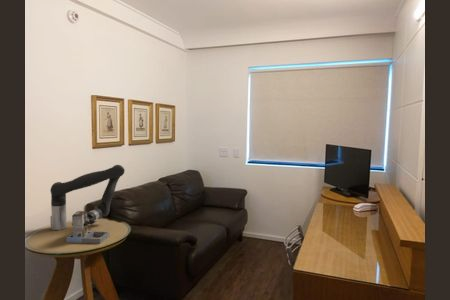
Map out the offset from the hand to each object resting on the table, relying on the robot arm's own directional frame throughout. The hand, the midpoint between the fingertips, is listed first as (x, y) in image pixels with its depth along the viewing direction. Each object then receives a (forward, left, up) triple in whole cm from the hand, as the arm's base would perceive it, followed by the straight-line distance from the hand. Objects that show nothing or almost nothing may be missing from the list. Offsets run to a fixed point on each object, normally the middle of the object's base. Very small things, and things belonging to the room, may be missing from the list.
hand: (78, 224), depth 196 cm
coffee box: (0, +2, -9) cm, 10 cm away
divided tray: (+6, +2, -10) cm, 12 cm away
